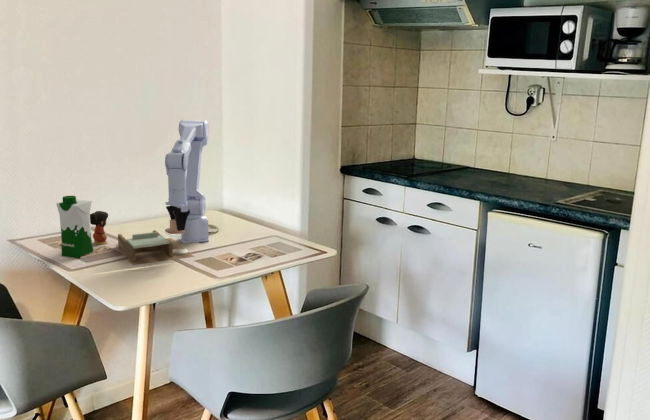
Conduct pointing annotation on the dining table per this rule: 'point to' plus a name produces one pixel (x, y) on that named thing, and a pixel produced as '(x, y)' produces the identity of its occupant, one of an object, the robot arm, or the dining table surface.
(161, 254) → the brown wooden tray
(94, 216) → the figurine
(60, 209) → the milk carton
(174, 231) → the tan domed cylinder
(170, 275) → the dining table surface
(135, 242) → the lid
